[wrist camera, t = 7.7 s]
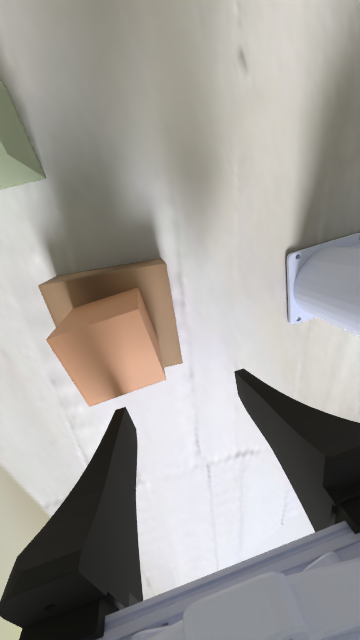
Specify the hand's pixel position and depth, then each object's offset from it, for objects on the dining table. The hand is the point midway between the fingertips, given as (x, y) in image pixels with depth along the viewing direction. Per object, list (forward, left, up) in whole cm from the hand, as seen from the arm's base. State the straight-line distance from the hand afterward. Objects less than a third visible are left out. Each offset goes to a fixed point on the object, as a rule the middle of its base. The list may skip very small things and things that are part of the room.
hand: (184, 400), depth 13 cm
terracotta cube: (+3, -4, -6) cm, 8 cm away
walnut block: (+3, -4, -10) cm, 11 cm away
